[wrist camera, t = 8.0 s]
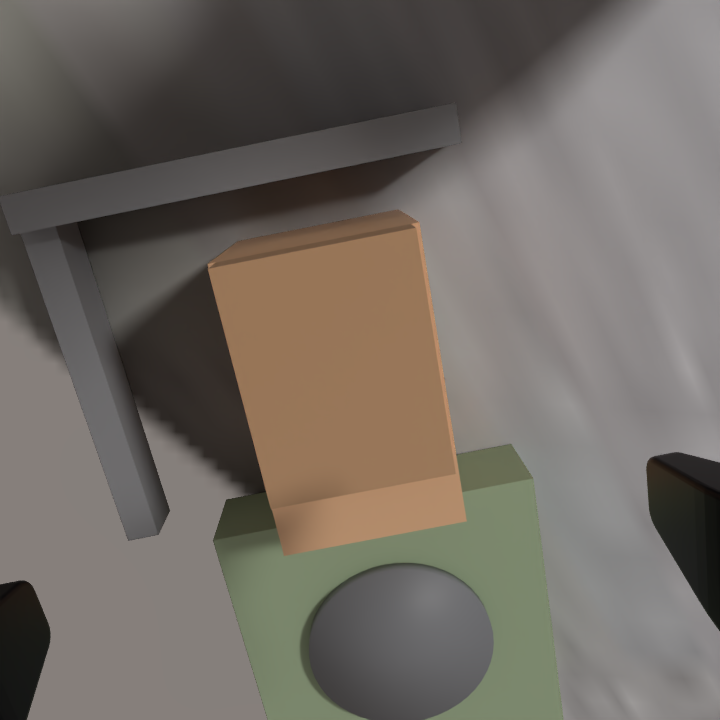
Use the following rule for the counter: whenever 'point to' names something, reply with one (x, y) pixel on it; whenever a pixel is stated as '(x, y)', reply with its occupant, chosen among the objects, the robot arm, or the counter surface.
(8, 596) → the robot arm
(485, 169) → the counter surface
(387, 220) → the brown cardboard carton
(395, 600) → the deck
